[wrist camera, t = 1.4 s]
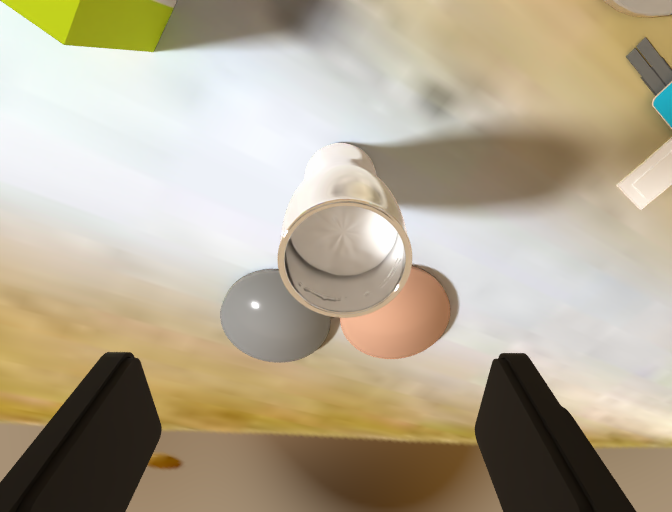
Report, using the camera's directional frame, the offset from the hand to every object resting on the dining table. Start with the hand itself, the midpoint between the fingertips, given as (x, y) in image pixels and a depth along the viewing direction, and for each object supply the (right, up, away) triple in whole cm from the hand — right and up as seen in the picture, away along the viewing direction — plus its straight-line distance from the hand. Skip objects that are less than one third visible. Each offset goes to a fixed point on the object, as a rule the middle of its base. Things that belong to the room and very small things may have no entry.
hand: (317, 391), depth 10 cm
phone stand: (+30, +13, +20) cm, 38 cm away
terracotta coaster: (+6, -2, +27) cm, 28 cm away
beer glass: (+1, +10, +21) cm, 24 cm away
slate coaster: (-6, -2, +28) cm, 28 cm away
